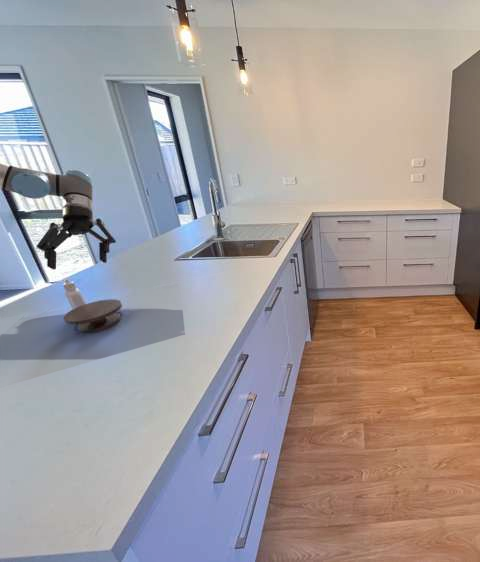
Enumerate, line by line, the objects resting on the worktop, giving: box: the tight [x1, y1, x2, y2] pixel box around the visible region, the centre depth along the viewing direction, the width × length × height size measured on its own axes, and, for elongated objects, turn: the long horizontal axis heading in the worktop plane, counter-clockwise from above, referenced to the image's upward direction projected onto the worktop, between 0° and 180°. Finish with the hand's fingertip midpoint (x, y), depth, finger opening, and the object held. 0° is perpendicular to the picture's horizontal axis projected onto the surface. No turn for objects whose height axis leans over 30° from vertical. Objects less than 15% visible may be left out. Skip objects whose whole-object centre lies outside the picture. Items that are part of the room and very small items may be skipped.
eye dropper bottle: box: [62, 278, 87, 310], centre depth 95 cm, size 4×6×12 cm
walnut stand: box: [63, 298, 123, 334], centre depth 90 cm, size 13×13×5 cm
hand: (77, 264), depth 99 cm, fingers open, 13 cm apart
